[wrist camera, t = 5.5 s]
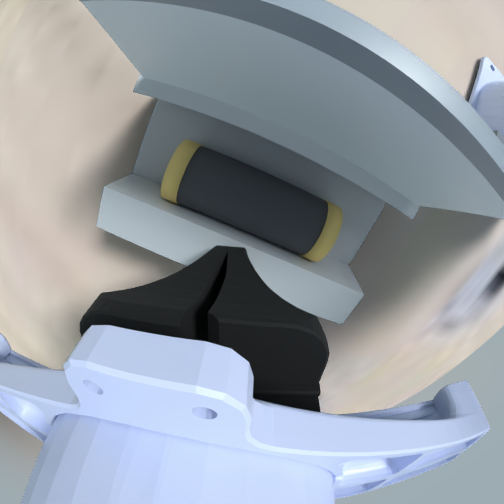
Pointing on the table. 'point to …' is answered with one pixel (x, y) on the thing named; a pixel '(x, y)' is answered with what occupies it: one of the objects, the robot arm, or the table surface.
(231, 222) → the banded gray rod
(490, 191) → the cover
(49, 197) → the table surface
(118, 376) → the robot arm
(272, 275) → the grey slotted block
